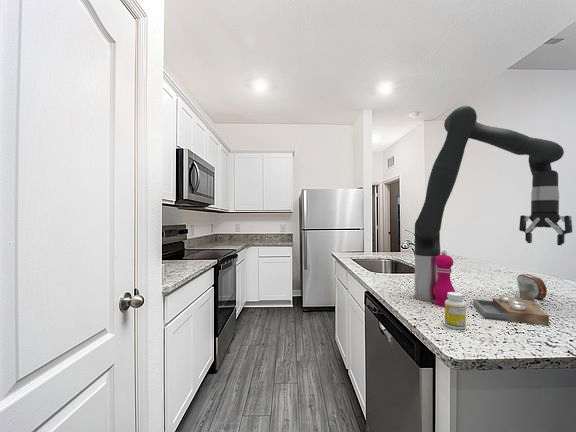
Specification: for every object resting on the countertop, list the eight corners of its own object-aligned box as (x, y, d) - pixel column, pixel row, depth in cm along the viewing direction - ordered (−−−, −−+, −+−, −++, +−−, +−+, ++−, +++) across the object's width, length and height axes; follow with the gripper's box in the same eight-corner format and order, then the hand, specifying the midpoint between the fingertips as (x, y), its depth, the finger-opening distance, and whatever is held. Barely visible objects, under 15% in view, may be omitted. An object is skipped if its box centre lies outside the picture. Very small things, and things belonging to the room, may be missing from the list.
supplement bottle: (464, 331, 80) (464, 297, 80) (443, 326, 84) (442, 294, 84) (467, 326, 84) (467, 293, 84) (447, 321, 88) (446, 290, 88)
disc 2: (510, 306, 93) (510, 302, 93) (506, 303, 97) (506, 299, 97) (525, 308, 92) (525, 303, 92) (521, 304, 95) (521, 300, 95)
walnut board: (508, 321, 88) (507, 311, 88) (492, 306, 103) (492, 298, 103) (548, 325, 85) (548, 315, 85) (526, 309, 100) (526, 301, 100)
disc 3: (512, 310, 89) (512, 305, 89) (507, 306, 93) (507, 302, 93) (527, 312, 88) (527, 307, 88) (522, 308, 92) (522, 303, 92)
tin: (547, 301, 110) (547, 279, 110) (538, 301, 111) (538, 279, 111) (523, 291, 125) (523, 272, 125) (515, 291, 125) (515, 272, 125)
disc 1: (500, 302, 98) (500, 298, 98) (497, 299, 102) (497, 295, 102) (515, 303, 96) (515, 299, 96) (510, 300, 100) (510, 296, 100)
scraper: (529, 309, 101) (529, 286, 101) (514, 299, 114) (514, 279, 114) (540, 310, 100) (540, 287, 100) (524, 299, 113) (523, 279, 113)
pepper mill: (453, 302, 108) (452, 249, 108) (457, 308, 101) (457, 251, 101) (431, 301, 110) (431, 249, 110) (434, 306, 103) (434, 251, 103)
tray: (485, 318, 91) (485, 312, 91) (473, 304, 105) (473, 299, 106) (508, 321, 88) (507, 314, 88) (492, 306, 103) (492, 300, 103)
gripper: (516, 199, 108) (516, 242, 108) (567, 198, 96) (567, 246, 96) (525, 200, 112) (524, 242, 112) (575, 199, 99) (574, 245, 99)
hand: (544, 244), depth 104 cm, fingers open, 8 cm apart
